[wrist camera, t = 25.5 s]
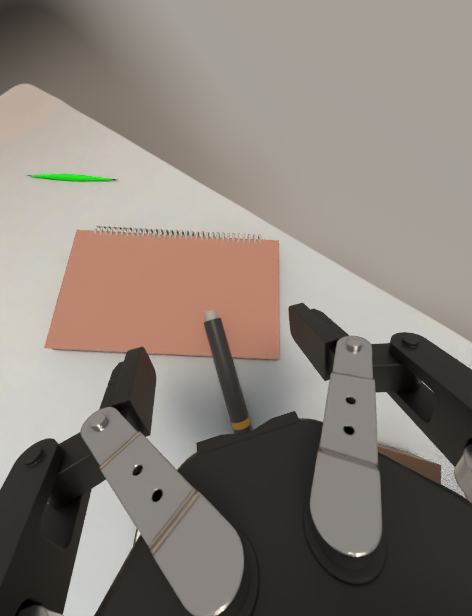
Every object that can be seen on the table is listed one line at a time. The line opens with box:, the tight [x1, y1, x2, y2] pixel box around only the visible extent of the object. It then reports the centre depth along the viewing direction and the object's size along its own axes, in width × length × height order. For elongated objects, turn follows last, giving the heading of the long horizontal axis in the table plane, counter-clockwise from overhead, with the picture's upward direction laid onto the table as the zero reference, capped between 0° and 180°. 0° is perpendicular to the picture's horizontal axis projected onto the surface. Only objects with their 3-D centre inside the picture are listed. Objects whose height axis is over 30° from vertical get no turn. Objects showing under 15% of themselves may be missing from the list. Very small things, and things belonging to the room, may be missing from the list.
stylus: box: [204, 310, 252, 434], centre depth 26 cm, size 2×2×14 cm
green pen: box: [26, 174, 117, 181], centre depth 36 cm, size 1×14×1 cm, turn 88°
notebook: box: [44, 226, 280, 360], centre depth 31 cm, size 27×17×2 cm, turn 87°
